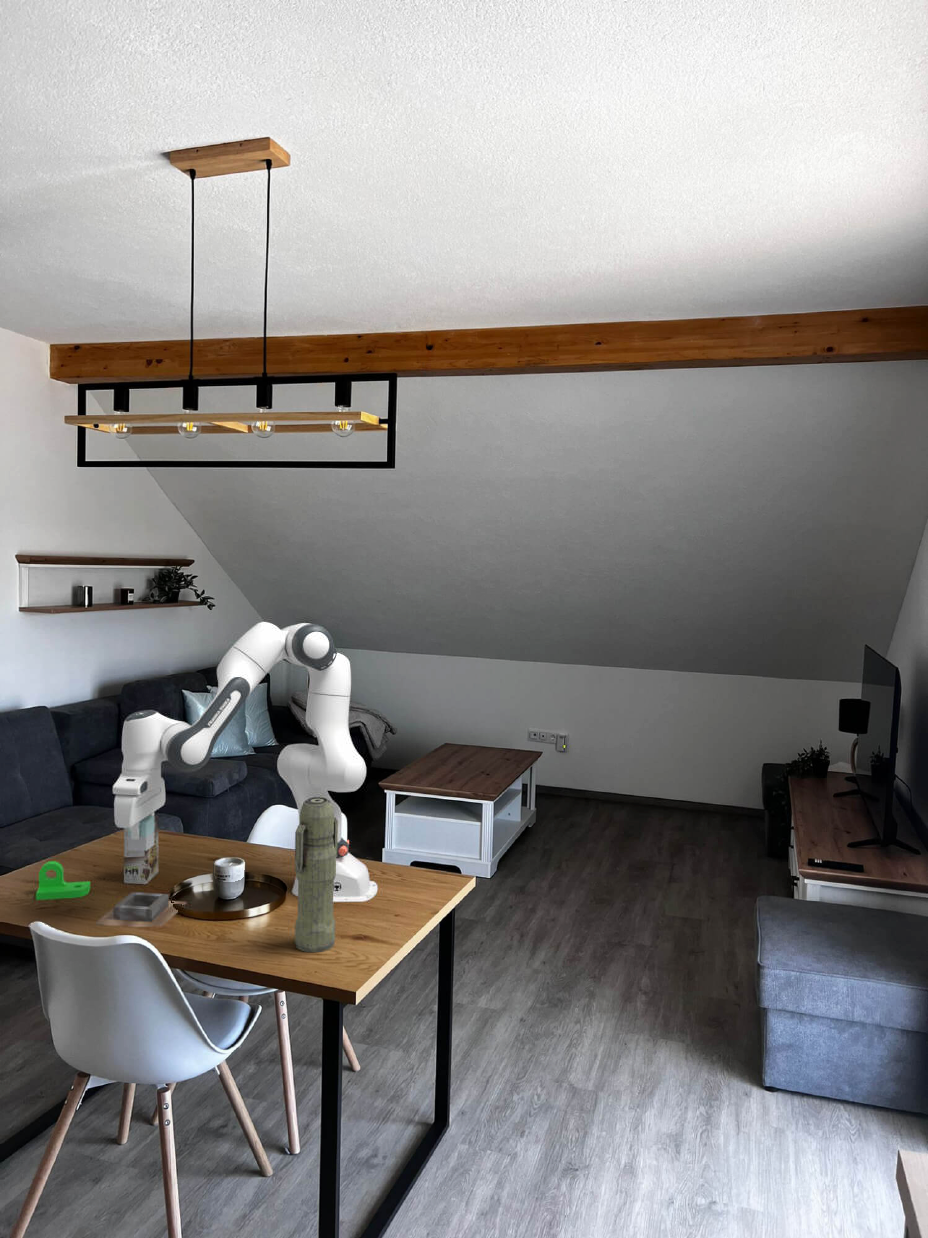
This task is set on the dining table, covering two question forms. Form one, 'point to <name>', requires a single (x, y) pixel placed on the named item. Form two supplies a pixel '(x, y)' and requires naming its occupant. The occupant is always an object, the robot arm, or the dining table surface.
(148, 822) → the pale teal block
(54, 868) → the mechanical part
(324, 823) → the thermos
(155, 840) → the coffee box
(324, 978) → the dining table surface
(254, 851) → the dining table surface
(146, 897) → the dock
